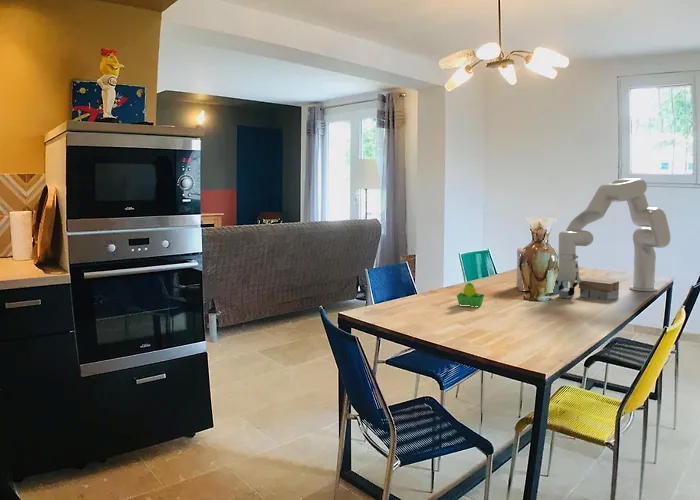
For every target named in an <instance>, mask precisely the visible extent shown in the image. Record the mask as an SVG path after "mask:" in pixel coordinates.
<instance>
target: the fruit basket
mask: <svg viewBox="0 0 700 500" xmlns="http://www.w3.org/2000/svg"><path fill="white" fill-rule="evenodd" d="M476 290H477V288H476V287H475V286H474V284H473V283H472V282H468V283H465V285H464V288H463V292H459V293H458V294H457V295H456V298H457V302H458V305H459V304H461V305H470V306H478V307H479V308H480V307H482V305H483V302H484V301H483V300H484V298H485V294H481V293H478V292H476Z"/></svg>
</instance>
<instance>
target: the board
mask: <svg viewBox="0 0 700 500" xmlns="http://www.w3.org/2000/svg"><path fill="white" fill-rule="evenodd" d="M581 281H582V282H581V283H579V284H578V289H579V290H580V289H588V290H596V291H604V292H613V291H616V290H620V281H619V280H611V279H610V280H609V279H608V280H607V279H601V278H594V277H593V278H592V277H587V278H582V279H581Z"/></svg>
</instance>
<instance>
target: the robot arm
mask: <svg viewBox="0 0 700 500" xmlns="http://www.w3.org/2000/svg"><path fill="white" fill-rule="evenodd" d="M647 187H648V186H647V182H646V181H645V180H644V179H642V178H618V179H614V180H613V181H612V182H611V183H605V184H601V185H600V186H599V187H598V188H597V190H596V192H595V194H594V195H593V197H592V199H591V200H590V202H589V203H588V206H587V207H586V208H585V210H582V212H580V213H579V214H577V216H575V217H574V218H573V219H572V220H571V221H570V223H569V224H568V226H567V228H566V229H565V230H564V231H560V232H559V234H558V259H559V271H558V276H557V278H556V281H555V282H556V284H557V285H558V286H559V290H561V289H564V286H563V281H568V283H569V287H568V288H569V296H572V297H573V295H575V287H577V286H579V283H581V282H582V281H581V280H582V279H581V277H580V269H579V267H580V266H579V263H578V260H576V259H579V256H578V255H577V254H576V252H577V251H576V248H577V247H588V246H591V244H592V243H593V241H594V236H593V234H592V233H591V232H590V231H588V230H583V229H584V228H585V227H586V226H588V225H589V224H592V223H594V222H596V221H599V220H601V219H602V218H604V216H605V215H606V213H607V211H608V209H609V208H610V206H611V205H612V203H613V202H616V203H618V202H626V203H627V206H628V211H629V214H630V218H631V221H632V223H633V225H634V226H638V227H639V228H636V229H635V230H634V232H633V234H632V242H633V249H634V257H633V277H632V278H633V283H632V285H629V290H633V291H637V292H657V291H658V290H659V289H658V287H657V286H655V284H656V280H655V279H656V257H657V256H656V252H655V249H654V248H656V249H657V248H658V249H663V248H664V249H665V248H666V247H667V246H669V244H670V242H671V232H670V227H669V224H668V223H669V222H668V218H667V215H666V212H664V211H663V209H661V208H659V207H651V206H650V205H649V203H648V199H647V197H646V195H645V193H646V191H647V189H648V188H647Z"/></svg>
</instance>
